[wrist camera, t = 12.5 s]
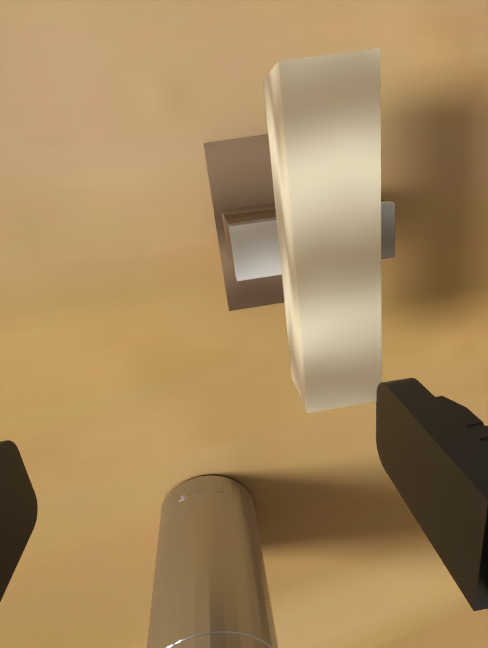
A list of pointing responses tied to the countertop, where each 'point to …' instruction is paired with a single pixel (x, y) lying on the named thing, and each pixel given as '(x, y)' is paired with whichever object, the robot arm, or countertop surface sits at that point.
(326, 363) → the pale gold metallic bar
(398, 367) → the countertop surface
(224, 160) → the balance stand
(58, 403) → the countertop surface
